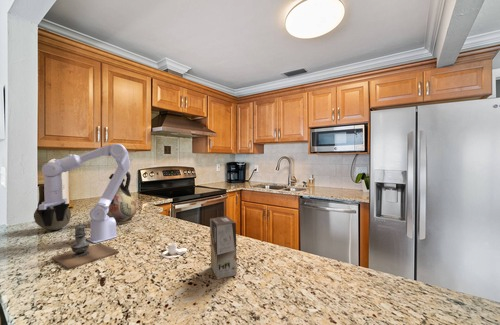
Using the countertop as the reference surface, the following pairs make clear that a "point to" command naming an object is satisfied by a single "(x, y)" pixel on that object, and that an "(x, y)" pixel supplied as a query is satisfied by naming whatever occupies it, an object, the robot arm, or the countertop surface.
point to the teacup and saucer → (173, 250)
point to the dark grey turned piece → (80, 242)
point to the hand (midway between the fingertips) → (54, 223)
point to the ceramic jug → (122, 203)
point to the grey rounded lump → (55, 224)
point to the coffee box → (223, 247)
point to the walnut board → (94, 254)
